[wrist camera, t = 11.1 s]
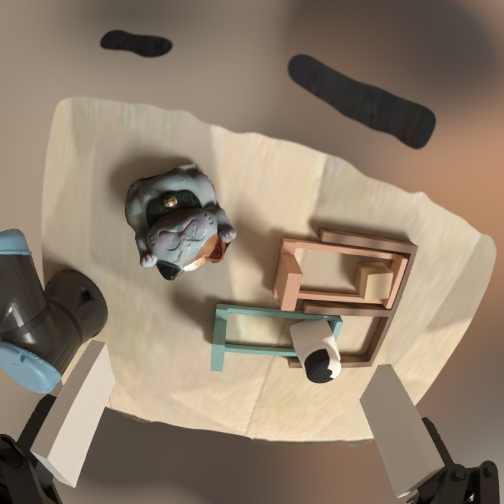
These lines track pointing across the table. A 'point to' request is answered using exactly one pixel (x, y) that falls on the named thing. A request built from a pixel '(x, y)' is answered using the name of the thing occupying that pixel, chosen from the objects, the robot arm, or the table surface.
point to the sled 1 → (220, 346)
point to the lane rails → (361, 308)
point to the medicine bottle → (316, 349)
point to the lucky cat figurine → (177, 221)
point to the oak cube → (373, 280)
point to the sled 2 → (290, 284)
